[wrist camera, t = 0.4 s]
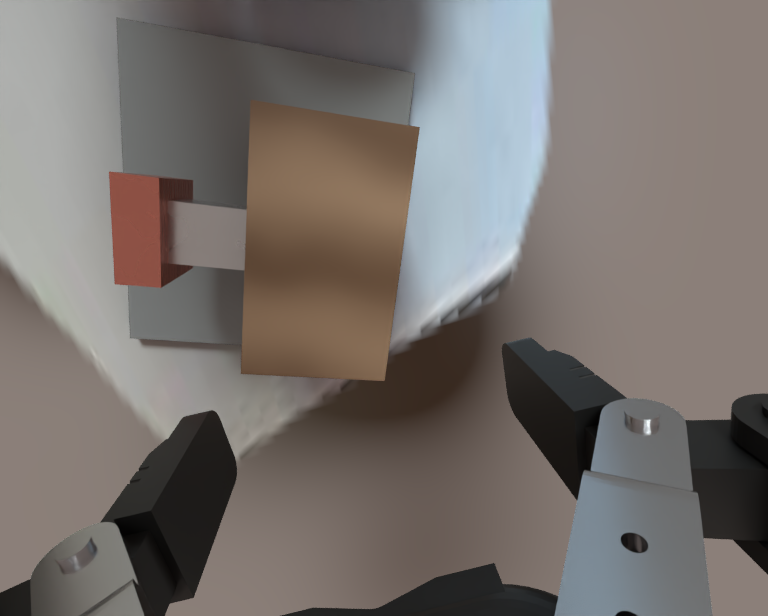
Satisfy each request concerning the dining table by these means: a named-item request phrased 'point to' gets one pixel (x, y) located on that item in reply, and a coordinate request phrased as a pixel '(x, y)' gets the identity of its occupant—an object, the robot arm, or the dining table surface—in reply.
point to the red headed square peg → (170, 230)
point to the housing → (323, 241)
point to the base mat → (221, 143)
